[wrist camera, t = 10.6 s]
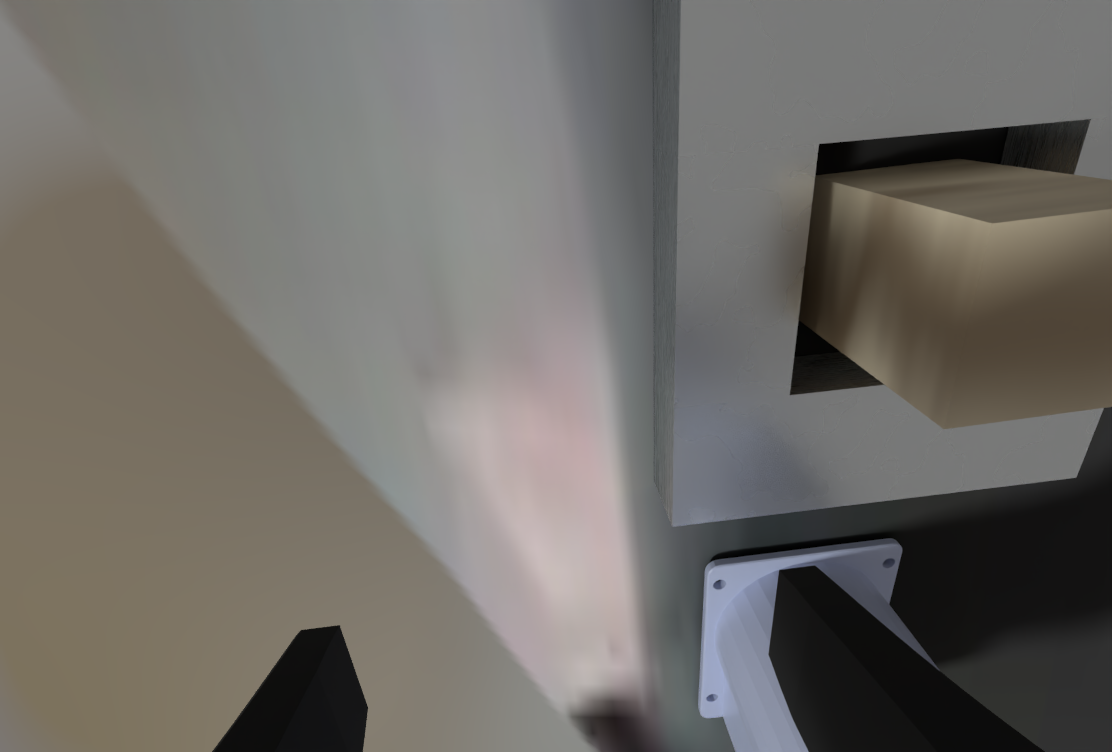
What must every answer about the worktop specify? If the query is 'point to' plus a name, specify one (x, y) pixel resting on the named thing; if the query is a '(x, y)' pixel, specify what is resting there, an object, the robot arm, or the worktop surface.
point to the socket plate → (783, 226)
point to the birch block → (967, 286)
